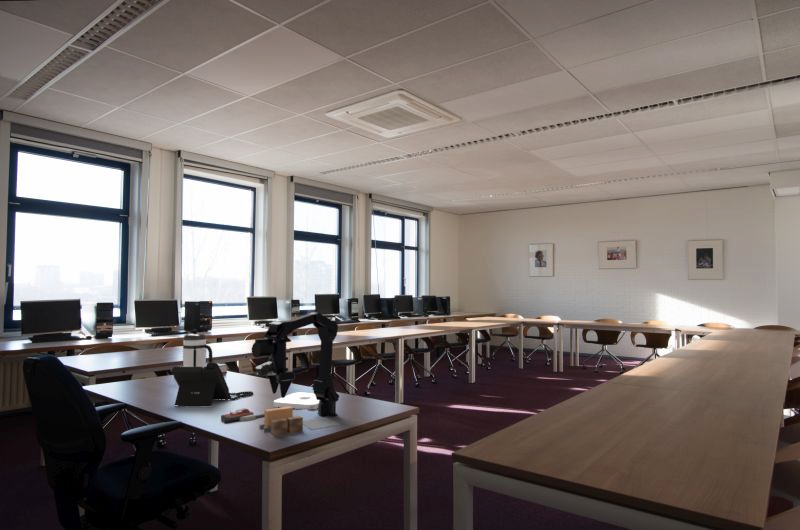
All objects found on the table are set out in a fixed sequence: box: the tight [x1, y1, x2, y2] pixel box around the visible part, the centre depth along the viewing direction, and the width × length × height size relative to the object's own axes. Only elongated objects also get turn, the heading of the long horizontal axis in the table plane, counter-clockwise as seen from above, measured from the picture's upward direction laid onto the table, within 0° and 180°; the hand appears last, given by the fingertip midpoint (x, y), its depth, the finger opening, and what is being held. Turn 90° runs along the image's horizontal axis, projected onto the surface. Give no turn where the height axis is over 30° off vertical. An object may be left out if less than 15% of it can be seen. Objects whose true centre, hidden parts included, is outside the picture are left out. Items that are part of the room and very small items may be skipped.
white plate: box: [273, 391, 319, 411], centre depth 229 cm, size 22×22×3 cm
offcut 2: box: [287, 415, 304, 434], centre depth 182 cm, size 5×3×5 cm, turn 125°
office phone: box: [171, 361, 254, 407], centre depth 237 cm, size 29×28×20 cm
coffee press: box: [182, 328, 213, 368], centre depth 285 cm, size 17×16×30 cm
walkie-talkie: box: [220, 407, 265, 424], centre depth 202 cm, size 9×4×20 cm
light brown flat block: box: [264, 406, 294, 427], centre depth 188 cm, size 10×3×7 cm, turn 125°
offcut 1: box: [271, 418, 288, 437], centre depth 179 cm, size 5×3×5 cm, turn 125°
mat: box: [303, 417, 341, 431], centre depth 193 cm, size 12×13×1 cm
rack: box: [258, 423, 306, 438], centre depth 185 cm, size 13×15×2 cm
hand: (278, 395), depth 188 cm, fingers open, 9 cm apart
